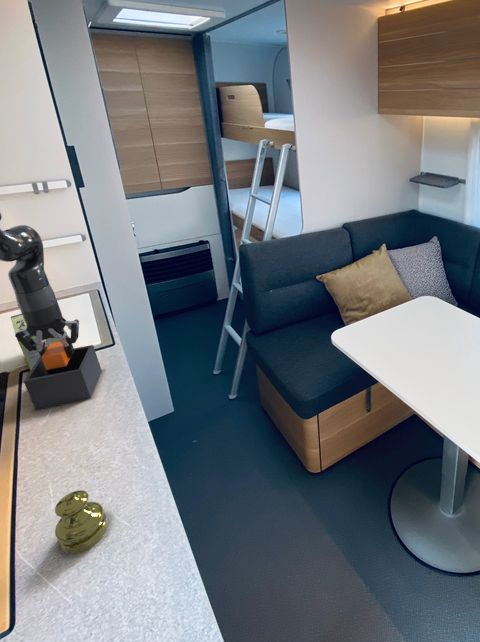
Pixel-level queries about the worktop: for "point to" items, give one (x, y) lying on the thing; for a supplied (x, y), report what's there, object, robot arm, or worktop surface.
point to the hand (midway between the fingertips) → (59, 358)
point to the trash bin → (64, 380)
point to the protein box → (20, 324)
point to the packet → (55, 356)
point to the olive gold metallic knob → (79, 522)
